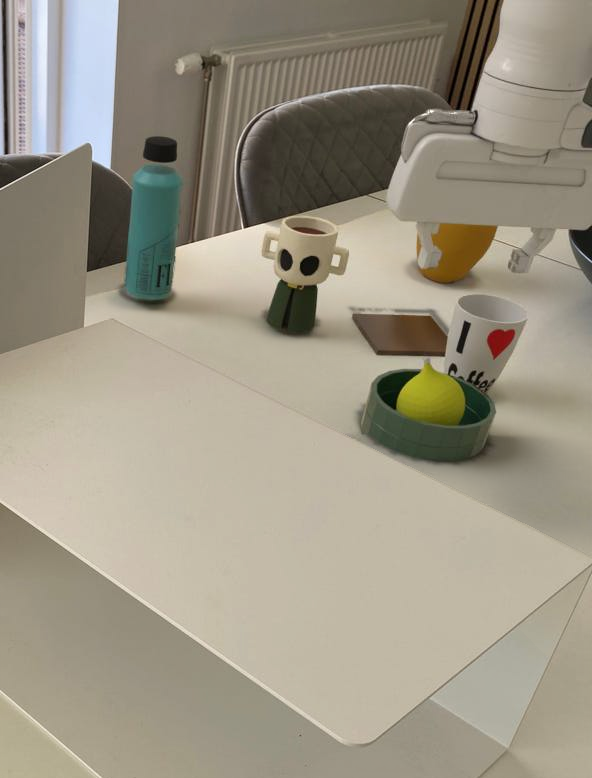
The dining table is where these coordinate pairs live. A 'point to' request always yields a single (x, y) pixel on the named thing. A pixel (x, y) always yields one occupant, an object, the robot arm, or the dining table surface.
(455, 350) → the cup
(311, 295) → the character mug
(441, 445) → the pot
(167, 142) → the beverage bottle
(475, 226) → the orange rounded piece
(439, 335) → the coaster
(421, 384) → the green fig
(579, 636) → the dining table surface
